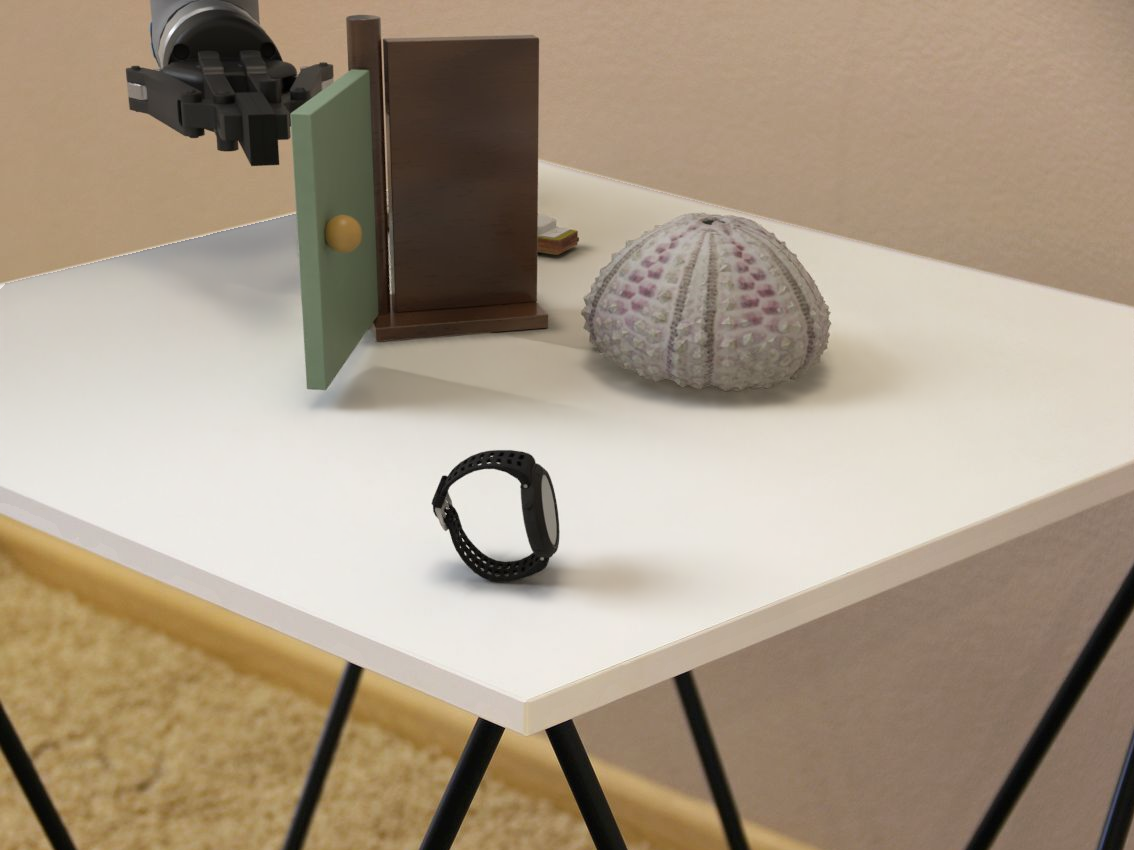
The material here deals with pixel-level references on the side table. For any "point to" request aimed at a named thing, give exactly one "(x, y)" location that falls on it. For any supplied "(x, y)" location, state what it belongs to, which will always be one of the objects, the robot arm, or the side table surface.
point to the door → (335, 223)
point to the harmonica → (549, 236)
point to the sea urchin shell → (708, 306)
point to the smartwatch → (535, 509)
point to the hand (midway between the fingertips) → (263, 140)
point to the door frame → (453, 180)
